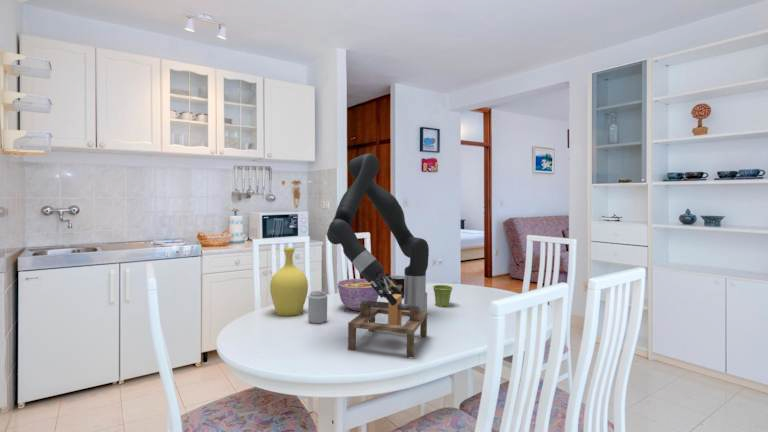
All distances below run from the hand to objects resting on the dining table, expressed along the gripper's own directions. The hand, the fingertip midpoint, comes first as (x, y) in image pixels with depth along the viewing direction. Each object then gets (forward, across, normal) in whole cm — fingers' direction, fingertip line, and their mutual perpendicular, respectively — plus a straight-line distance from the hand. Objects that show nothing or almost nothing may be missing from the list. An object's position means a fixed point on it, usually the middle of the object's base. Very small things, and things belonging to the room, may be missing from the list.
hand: (398, 300), depth 145 cm
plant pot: (+15, +56, +7) cm, 59 cm away
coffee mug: (-3, +65, +25) cm, 70 cm away
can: (-16, +14, +37) cm, 43 cm away
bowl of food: (-10, +38, +31) cm, 50 cm away
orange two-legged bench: (+6, 0, +8) cm, 10 cm away
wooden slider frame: (+8, 0, +13) cm, 15 cm away
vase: (-28, +21, +50) cm, 61 cm away
